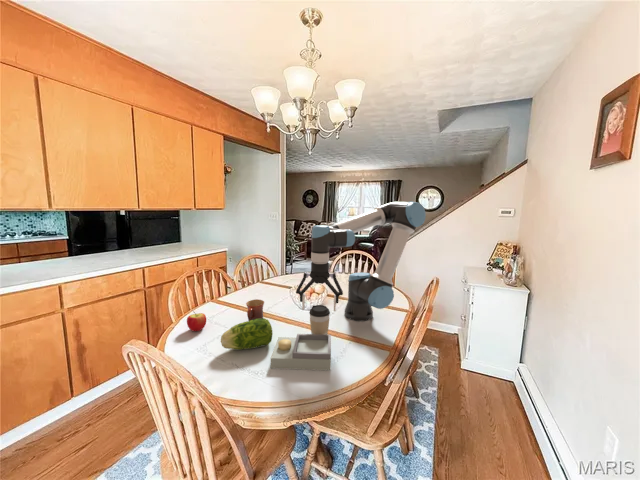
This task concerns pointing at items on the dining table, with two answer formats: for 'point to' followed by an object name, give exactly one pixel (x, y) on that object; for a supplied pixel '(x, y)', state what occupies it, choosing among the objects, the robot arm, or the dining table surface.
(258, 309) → the mug
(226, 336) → the lettuce
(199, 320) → the apple
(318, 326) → the coffee cup
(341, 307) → the dining table surface
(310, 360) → the grey tray
